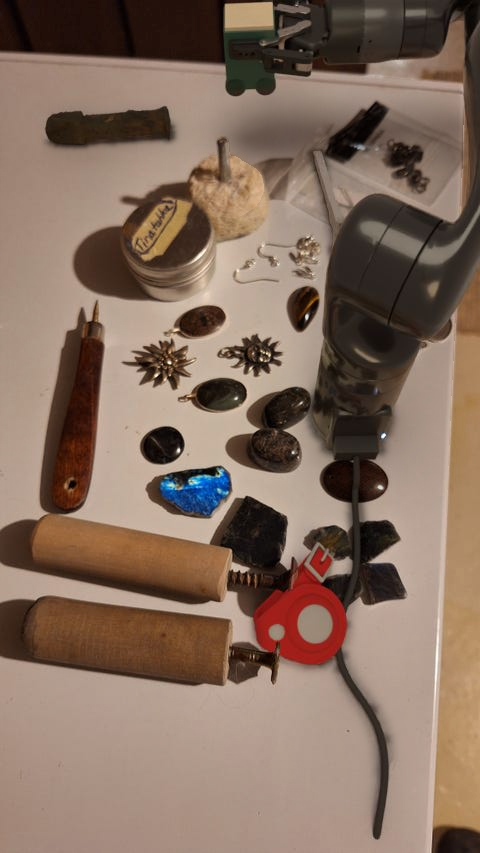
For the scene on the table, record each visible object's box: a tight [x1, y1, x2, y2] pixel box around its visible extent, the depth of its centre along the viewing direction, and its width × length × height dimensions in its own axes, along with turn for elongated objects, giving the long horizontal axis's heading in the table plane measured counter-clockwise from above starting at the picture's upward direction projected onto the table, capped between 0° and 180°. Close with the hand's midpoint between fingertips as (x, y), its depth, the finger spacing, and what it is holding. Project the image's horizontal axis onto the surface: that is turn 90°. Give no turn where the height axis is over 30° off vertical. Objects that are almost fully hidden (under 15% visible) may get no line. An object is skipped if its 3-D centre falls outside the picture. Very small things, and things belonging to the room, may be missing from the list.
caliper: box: [312, 150, 346, 244], centre depth 88 cm, size 20×1×6 cm, turn 6°
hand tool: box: [44, 105, 172, 145], centre depth 96 cm, size 19×4×5 cm, turn 92°
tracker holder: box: [252, 541, 348, 666], centre depth 67 cm, size 12×4×10 cm
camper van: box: [222, 1, 277, 97], centre depth 83 cm, size 5×7×10 cm
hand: (229, 34), depth 81 cm, fingers closed on camper van, 5 cm apart
